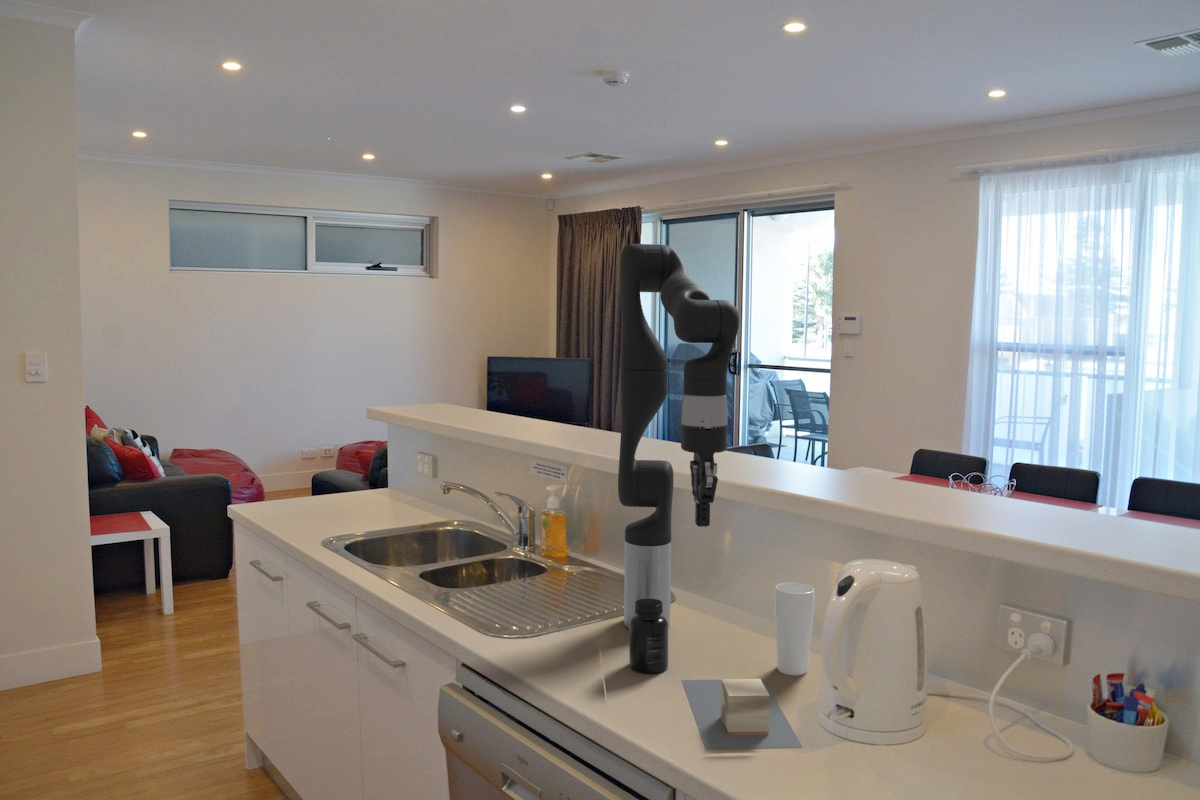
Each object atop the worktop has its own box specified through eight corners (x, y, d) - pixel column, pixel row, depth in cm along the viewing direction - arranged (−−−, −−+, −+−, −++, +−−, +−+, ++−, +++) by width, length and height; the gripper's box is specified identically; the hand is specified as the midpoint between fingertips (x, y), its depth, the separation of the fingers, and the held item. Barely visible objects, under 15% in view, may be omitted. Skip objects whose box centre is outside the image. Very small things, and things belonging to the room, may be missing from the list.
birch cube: (729, 696, 130) (728, 735, 130) (769, 695, 130) (768, 734, 131) (721, 679, 136) (720, 717, 136) (760, 678, 136) (759, 716, 137)
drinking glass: (765, 666, 157) (767, 584, 156) (798, 661, 159) (800, 580, 158) (786, 681, 151) (788, 595, 149) (820, 676, 153) (822, 591, 152)
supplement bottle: (671, 663, 158) (672, 598, 157) (663, 678, 152) (664, 610, 150) (633, 659, 160) (634, 594, 159) (624, 674, 153) (625, 606, 152)
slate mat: (681, 682, 150) (681, 680, 150) (763, 681, 151) (763, 679, 151) (705, 751, 126) (705, 749, 126) (802, 750, 127) (803, 747, 127)
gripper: (676, 417, 152) (674, 516, 154) (687, 426, 139) (685, 535, 141) (719, 417, 153) (717, 516, 154) (735, 427, 140) (732, 535, 141)
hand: (702, 525), depth 148 cm, fingers closed
